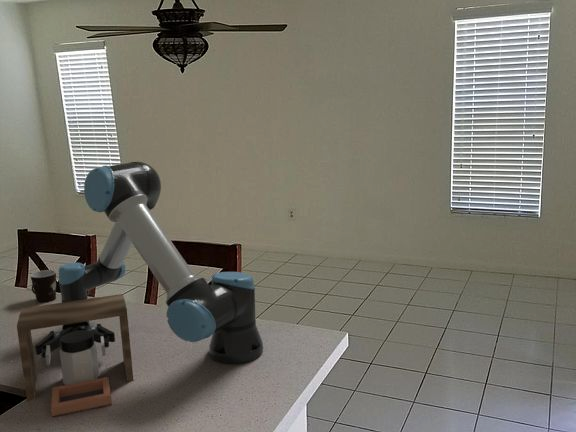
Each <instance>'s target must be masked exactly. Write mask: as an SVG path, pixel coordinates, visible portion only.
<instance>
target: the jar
mask: <svg viewBox="0 0 576 432" xmlns="http://www.w3.org/2000/svg"><path fill="white" fill-rule="evenodd" d="M60 345H61V346H60V349H59V358H60V365H61V375H62V382H63V384H64V385H69V384H74V383H80V382H85V381H90V380H95V379H98V377H99V375H100V367H99V358H98V351H97V350H98V349H97V342H95V341H94V334H93V333H92V332H91V331H87V330H79V331H73V332H70V333H67V334H65V335H63V336H62V337H61V338H60Z"/></svg>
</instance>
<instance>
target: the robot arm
mask: <svg viewBox="0 0 576 432" xmlns="http://www.w3.org/2000/svg"><path fill="white" fill-rule="evenodd" d="M83 187H84V188H83V189H84V190H83V193H84V198H85V201H86V204H87V206H88V208H90V209H91V210H92V211H94V212H96V213H104V214H105V215H106V217H107V218H108V220H109V221H110V222H112V223H114V224H113V227H112V229H111V230H110V232H109V234H108V237H107V240H106V241H105V244H104V247H103V248H102V251H101V253H100V255H99V257H98V259H97V261H96V262H94V263H91V264H88V265H84V264H83V263H81V262H69V263H64V264H62V265H61V266H59V268H58V283H59V289H60V295H61V303H63V302H70V301H77V300H84V299H89V298H88V291H90V290H92V289H95V288H98V287H100V286H103V285H106V284H108V283H113V282H115V281H118V280H119V279H121V278H123V276H124V275H125V274H126V264H125V260H126V258H127V256H128V254H129V252H130V250H131V247H132V246H134V248H135V249H136V250H137V252H138V253H139V255H140V257H141V258H142V259H143V261H144V262H145V264H146V265H147V267H148V268H149V270H150V271H151V273H152V274H153V275H154V277H155V278H156V280H157V282H158V283H159V285H161V287H162V289H163V290H164V292H165V293H166V299H165V304H166V306H167V310H166V318H167V324H168V326H169V328H170V329H171V331H172V332H173V334H175V335H176V336H177V337H178V338H179V339H180V340H183V341H185V342H189V343H197V342H200V341H203V340H205V339H208V338H210V337H211V338H210V342H209V355H210V358H211V359H213V360H214V361H216V362H218V363H221V364H222V363H223V364H226V365H227V364H228V365H229V364H230V365H232V364H233V365H235V364H243V363H248V362H251V361H254V360H257V358H259V357H261V355H263V353H264V343H263V339H262V337H261V334H260V332H259V330H258V327H257V319H256V297H255V296H256V294H255V291H256V287H255V281H254V277H252V275H251V274H249V273H245V272H239V271H221V272H217V273H214V274H212V276H211V280H210V282H211V284H209V283H208V282H207V280H206V278H204V276H200V275H196V274H194V272H193V271H192V269H191V268H190V266H189V265H188V263H187V262H186V260H185V258H183V255H181V253H180V252H179V251H178V249H177V248H176V245H174V243H173V242H172V240H171V239H170V237H169V236H168V235H167V233H166V232H165V230H164V229H163V227H162V225H160V223H159V221H158V220H157V219H156V217H155V215H154V214H153V213H152V212H151V211H153V209H154V208H155V207H156V205H157V203H158V201H159V198H160V195H161V190H162V183H161V179H160V176H159V174H158V172H157V170H155V169H154V168H153V166H151V164H147V163H146V162H142V161H131V162H124V163H120V164H119V163H118V164H114V165H102V166H100V167H95V168H92V170H90V171H89V172H88V174H87V175H86V178H85V180H84V185H83ZM90 324H91V323H90V321H85V322H79V323H72V324H66V325H61V326H62V329H61V331H60V332H56V331H55V330H51V331H49V332H48V335H46V336H45V337H44V338H43V339H41V340H40V341H39V342H38V343H37V344H35V345H34V347H35V348H34V349H35V350H34V351H35V355H37V356H39V355H41V357H42V359H45V362H46V363H45V365H46V366H50V365H51V358H52V354H51V353H52V352H53V351H55V350H56V349H58V348H61V345H60V338H61V337H62V336H63V335H65V334H67V333H70V332H73V331H79V330H87V331H91V332H92V333H93V334H94V341H95V342H96V343H99V344H101V353H102V356H106V348H109V347H110V343H115V342H116V335H115V332H113V331H112V330H109V329H108V328H107V327H104V326H102V323H97V324H96V325H95V326H94V327H92V326H91V325H90Z"/></svg>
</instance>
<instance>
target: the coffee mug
mask: <svg viewBox="0 0 576 432" xmlns="http://www.w3.org/2000/svg"><path fill="white" fill-rule="evenodd" d="M29 276H30V280H31V283H32V285H31V291H32V293H33V294H34V295H35V298H36V303H42V304H46V303H51V302H53V301H55V300H56V299H57V271H56V270H53V269H45V270H39V271H35V272H33V273H31V274H30V275H29ZM45 302H46V303H45Z"/></svg>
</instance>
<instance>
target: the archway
mask: <svg viewBox="0 0 576 432" xmlns="http://www.w3.org/2000/svg"><path fill="white" fill-rule="evenodd" d="M127 309H128V308H127V304H126V300H125V297H124V293H119V294H113V295H108V296H100V297H92V298H88V299H84V300H77V301H70V302H63V303H62V302H59V303H58V302H57V303H51V304H44V305H38V306H37V305H36V306H29V307H24V308H20V313H19V316H18V320H17V324H16V331H17V338H18V346H19V352H20V359H21V367H22V375H23V380H24V387H25V389H24V390H25V395H26V401H27V402H30V401H34V400H35V396H36V395H35V394H36V388H37V382H38V381H37V380H38V375H37V374H38V373H37V368H36V367H37V366H36V360H35V352H34V351H35V350H34V345H33V343H34V342H33V338H32V337H33V336H32V331H33V330H40V329H46V328H51V327H52V328H53V327H59V326H62V325H66V324H72V323H79V322H85V321H97V320H103V319H110V318H116V317H118V318H119V326H120V327H119V329H120V336H121V347H122V350H121V351H122V359H123V365H124V371H125V374H126V380H127V382H131V381H134V370H133V361H132V351H131V338H130V328H129V317H128V316H129V315H128V310H127Z"/></svg>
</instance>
